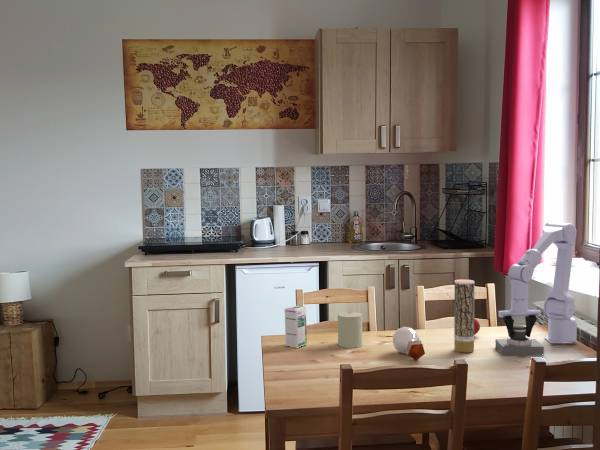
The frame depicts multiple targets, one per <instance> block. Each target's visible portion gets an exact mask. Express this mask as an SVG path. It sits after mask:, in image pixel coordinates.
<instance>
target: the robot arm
mask: <svg viewBox="0 0 600 450" xmlns="http://www.w3.org/2000/svg"><path fill="white" fill-rule="evenodd" d="M577 230H578V229H576V227H575V225H574V223H572V222H567V223H565V222H556V221H555V222H554V221H547V222H546V223H545V224H544V226H543V227H542V234H541V236H540V237H539V239H538V240H537V242H536V243H535V245H534V246H533V248H528V249H527V250H526V251H525V253H524V254H523V255H522V256H521V258H520V259H519V260H518V262H517V263H513V264H512V265H510V267H509V268H508V272H507V276H508V279H509V284H510V285H511V287H510V288H511V289H510V290H511V297H510V298H511V300H510V303H511V304H510V307H511V308H510V309H506V310H498V311H497V312H498V318H502V320H503V322H504V324H505V326H506V327H505V328H506V329H507V334H508V337H510V338H513V326H514V324H515V323H514V322H515V319H513V317H524V318H525V327H526V337H529V338H531V334H532V331H533V328H534V326H535V324H536V323H537V321H538V317H541V315H542V310H540V309H529V286H530V285H529V282H530V281H531V280H532V279H533V276H534V273H535V272H534V271H535V268H536V267H537V266H538V265H539V263H540V262H541V261H542V260H543V259H542V255H543V254H544V252H545V251H546V250H548V248H549V247H550V246H551V245H552V244H554V245H555V246H556V247H557V253H556V263H555V271H554V279H553V287H552V290H551V291H549V292H548V293H546V297H545V301H544V302H543V312H544V313H545V314H546V317H547V318H548V324H547V325H548V328H547V329H548V332H547V333H548V335H547V336H544V339H545V340H546V341H548V342H549V343H550V344H564V343H563V342H577V331H578V330H577V320H576V318H575V317H573V316H574V314H575V312H576V307H575V298H574V297H573V295H572V294H571V293H570V292H569V288H570V280H571V279H570V278H571V272H572V265H573V264H572V263H573V257H574V256H573V255H574V247H575V246H576V240H577V239H576V238H577V232H578V231H577Z"/></svg>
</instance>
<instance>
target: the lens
mask: <svg viewBox="0 0 600 450" xmlns="http://www.w3.org/2000/svg"><path fill="white" fill-rule="evenodd" d="M526 337H527V336H526V325H525V326H524V325H513V338H512V340H516V341H526Z"/></svg>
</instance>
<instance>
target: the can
mask: <svg viewBox="0 0 600 450" xmlns="http://www.w3.org/2000/svg"><path fill="white" fill-rule="evenodd" d="M338 345H339V346H338ZM337 346H338V347H340V346H341V347H340V348H343V347H345V349H355V347H357V348H360V346H361V347H362V346H363V313H361V312H359V311H341V312H339V313H337Z"/></svg>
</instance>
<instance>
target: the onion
mask: <svg viewBox="0 0 600 450" xmlns="http://www.w3.org/2000/svg"><path fill="white" fill-rule="evenodd" d="M480 328H481V325H480V322H479V320H478V319H476V318H475V317H474V336H475V335H476V334H478V333H479V331H480Z"/></svg>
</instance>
